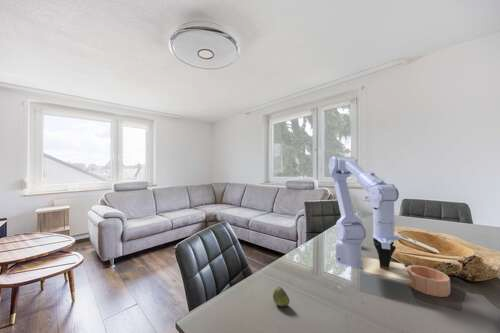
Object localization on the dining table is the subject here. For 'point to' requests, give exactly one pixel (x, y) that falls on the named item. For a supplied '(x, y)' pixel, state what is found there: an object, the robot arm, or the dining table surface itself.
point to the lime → (280, 297)
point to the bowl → (429, 280)
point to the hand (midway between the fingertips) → (384, 264)
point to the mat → (386, 288)
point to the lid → (386, 270)
